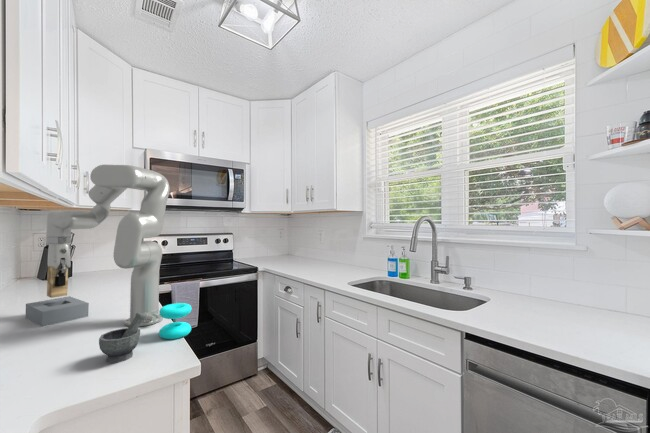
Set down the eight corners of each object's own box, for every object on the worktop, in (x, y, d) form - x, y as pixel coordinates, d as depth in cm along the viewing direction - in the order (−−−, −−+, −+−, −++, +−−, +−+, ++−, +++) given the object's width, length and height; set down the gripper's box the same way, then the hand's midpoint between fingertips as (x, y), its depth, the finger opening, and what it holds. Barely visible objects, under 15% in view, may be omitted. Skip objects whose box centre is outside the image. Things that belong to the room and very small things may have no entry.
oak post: (67, 295, 120) (68, 266, 120) (51, 297, 115) (52, 267, 116) (62, 293, 122) (63, 265, 122) (46, 296, 118) (47, 266, 118)
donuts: (152, 307, 98) (179, 300, 107) (152, 337, 98) (178, 327, 107) (172, 312, 94) (197, 304, 103) (171, 342, 94) (197, 332, 103)
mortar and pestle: (101, 369, 77) (102, 324, 77) (95, 358, 83) (96, 316, 83) (149, 356, 85) (150, 314, 85) (141, 346, 91) (141, 308, 91)
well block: (88, 316, 119) (88, 302, 120) (42, 326, 107) (42, 311, 108) (69, 308, 130) (69, 296, 130) (25, 317, 118) (25, 303, 118)
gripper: (78, 241, 118) (77, 286, 118) (62, 239, 127) (61, 281, 127) (54, 242, 112) (52, 289, 111) (39, 240, 120) (37, 284, 120)
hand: (57, 284), depth 119 cm, fingers closed on oak post, 5 cm apart
